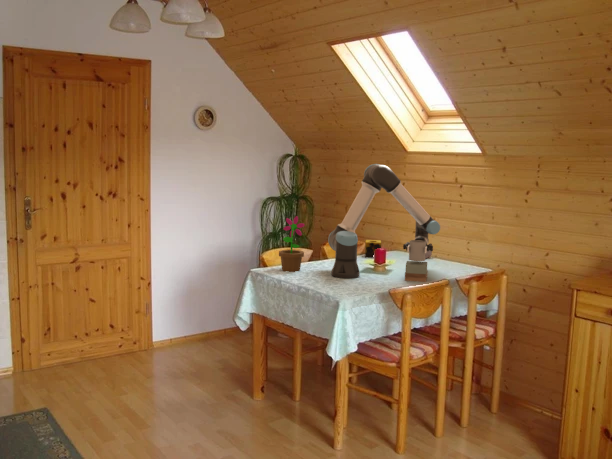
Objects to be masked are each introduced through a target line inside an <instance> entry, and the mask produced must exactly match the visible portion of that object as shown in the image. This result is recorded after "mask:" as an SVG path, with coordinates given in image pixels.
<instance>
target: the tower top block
mask: <svg viewBox="0 0 612 459" xmlns="http://www.w3.org/2000/svg"><path fill="white" fill-rule="evenodd" d="M427 270H428V261H412V260H406V262H405V272H404V274H405V273H415V274H427V275H428V271H427Z"/></svg>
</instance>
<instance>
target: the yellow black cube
mask: <svg viewBox="0 0 612 459" xmlns="http://www.w3.org/2000/svg"><path fill="white" fill-rule="evenodd" d="M364 245H365V247H364V248H365V250H364V253H365V254H364V257H365V258H366V257H373V255H374V251H375V249H377V248H381V249H382V240H380V239H365V244H364Z"/></svg>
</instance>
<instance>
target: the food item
mask: <svg viewBox="0 0 612 459" xmlns="http://www.w3.org/2000/svg"><path fill="white" fill-rule="evenodd" d="M432 255H433V251H430V250H429V251H427V252H426V253H425V260H426V259H427V258H431V257H432Z"/></svg>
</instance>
